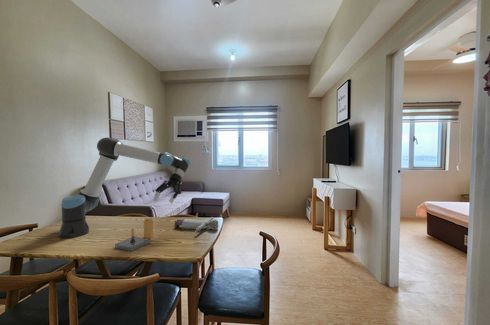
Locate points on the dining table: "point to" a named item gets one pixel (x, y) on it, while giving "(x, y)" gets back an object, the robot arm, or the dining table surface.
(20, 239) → the dining table surface
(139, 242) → the grey base with peg
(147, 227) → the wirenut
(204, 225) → the toy
